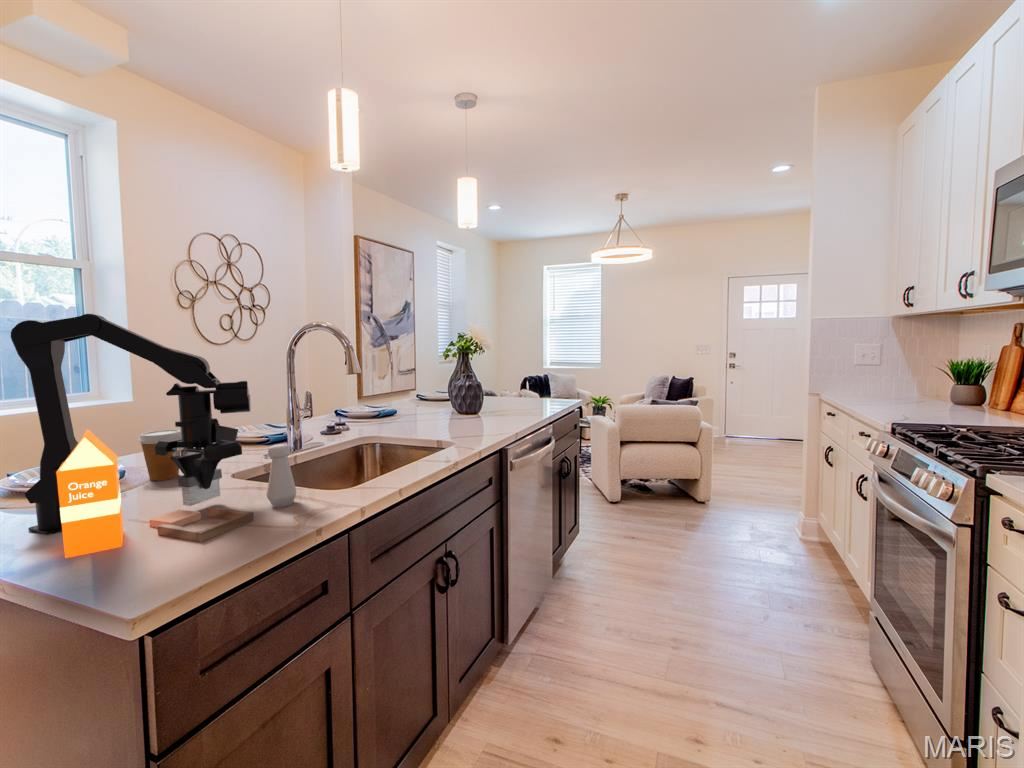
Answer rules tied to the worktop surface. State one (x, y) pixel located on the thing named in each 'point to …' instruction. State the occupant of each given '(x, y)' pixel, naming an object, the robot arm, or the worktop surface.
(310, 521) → the worktop surface
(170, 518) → the tile
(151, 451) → the disposable coffee cup
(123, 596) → the worktop surface
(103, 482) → the orange juice
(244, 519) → the bay
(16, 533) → the worktop surface
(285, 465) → the salt shaker
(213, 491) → the grey block
